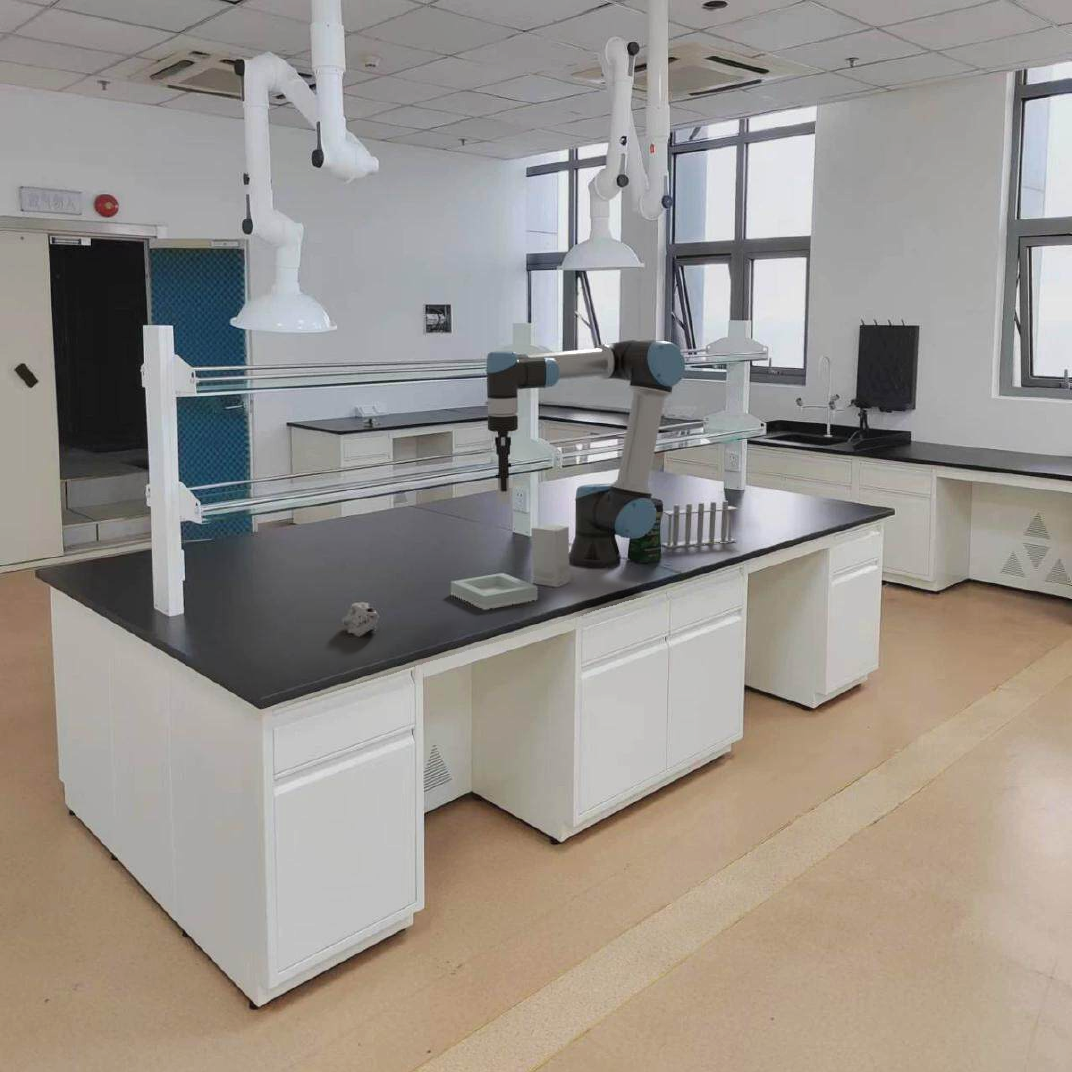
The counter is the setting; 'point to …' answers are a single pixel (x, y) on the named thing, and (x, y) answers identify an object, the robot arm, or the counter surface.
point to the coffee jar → (648, 540)
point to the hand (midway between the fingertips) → (504, 498)
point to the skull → (360, 619)
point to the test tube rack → (699, 525)
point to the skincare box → (550, 555)
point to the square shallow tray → (494, 590)
